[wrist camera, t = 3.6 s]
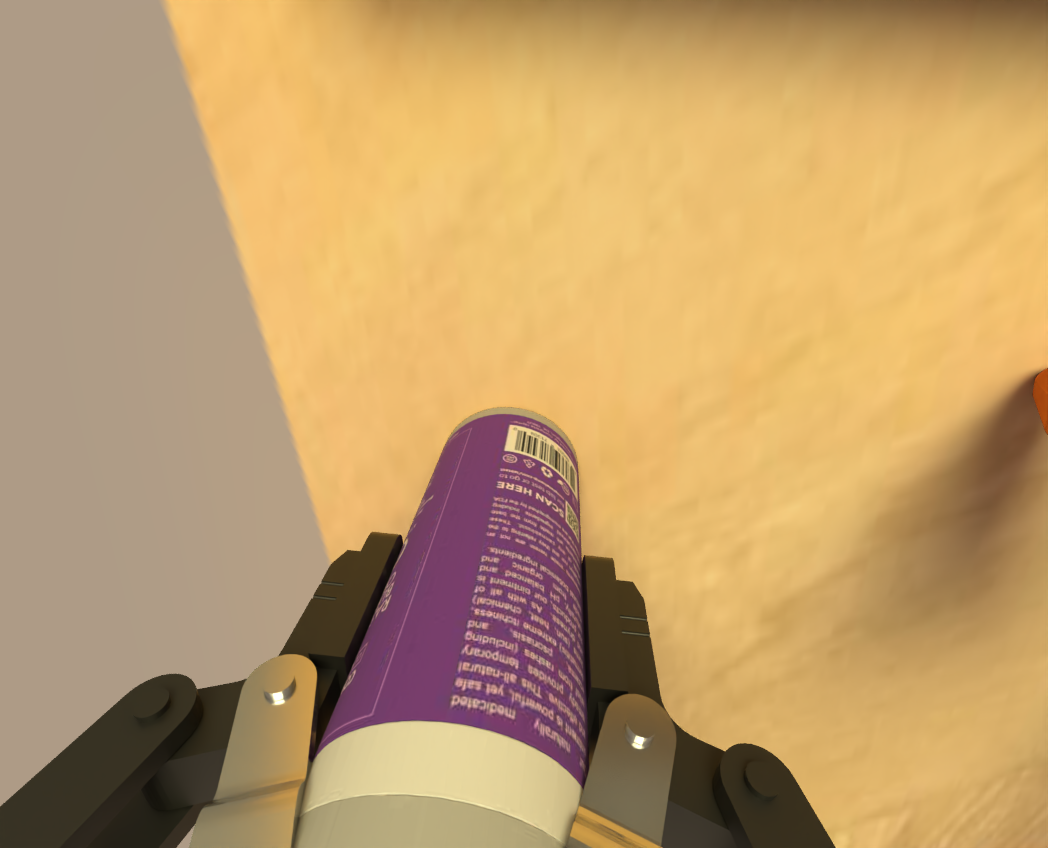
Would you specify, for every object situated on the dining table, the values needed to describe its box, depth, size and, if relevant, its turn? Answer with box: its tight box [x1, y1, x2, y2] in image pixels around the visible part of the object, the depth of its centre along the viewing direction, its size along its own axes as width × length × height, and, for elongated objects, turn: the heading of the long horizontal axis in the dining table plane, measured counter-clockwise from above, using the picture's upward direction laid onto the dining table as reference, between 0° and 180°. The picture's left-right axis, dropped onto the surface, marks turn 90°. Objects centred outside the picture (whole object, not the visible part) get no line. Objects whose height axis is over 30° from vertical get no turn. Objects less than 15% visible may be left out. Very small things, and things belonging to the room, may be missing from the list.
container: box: [294, 407, 589, 848], centre depth 11 cm, size 5×5×15 cm
